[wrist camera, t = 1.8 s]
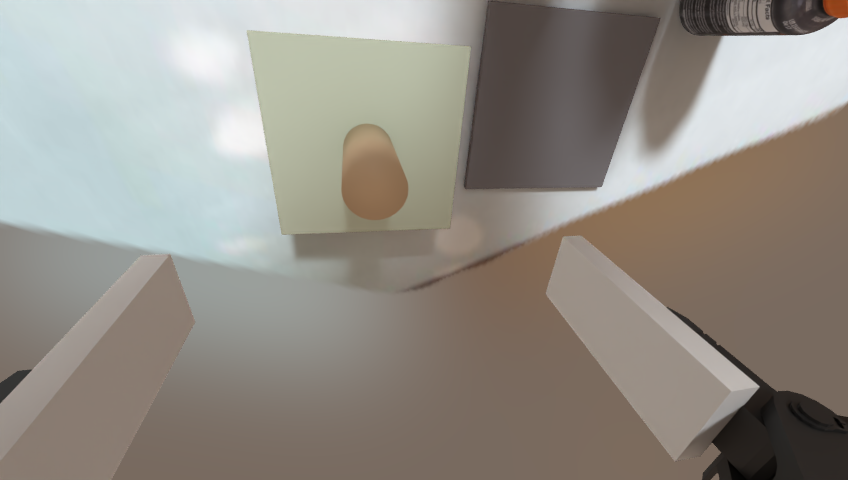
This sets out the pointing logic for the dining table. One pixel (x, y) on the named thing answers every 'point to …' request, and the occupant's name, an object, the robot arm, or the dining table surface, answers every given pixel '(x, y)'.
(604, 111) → the mat
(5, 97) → the dining table surface
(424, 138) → the lid
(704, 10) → the pill bottle
